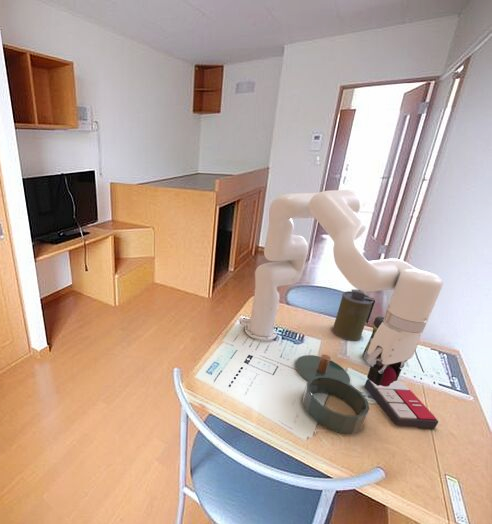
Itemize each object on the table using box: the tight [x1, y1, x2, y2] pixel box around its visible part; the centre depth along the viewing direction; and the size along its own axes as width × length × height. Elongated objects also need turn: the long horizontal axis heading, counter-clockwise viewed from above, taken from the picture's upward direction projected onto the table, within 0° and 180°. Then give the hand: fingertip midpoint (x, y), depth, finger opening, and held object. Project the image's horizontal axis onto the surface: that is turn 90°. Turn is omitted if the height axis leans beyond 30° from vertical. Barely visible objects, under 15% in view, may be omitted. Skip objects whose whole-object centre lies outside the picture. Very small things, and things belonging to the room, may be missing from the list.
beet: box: [378, 364, 396, 386], centre depth 79 cm, size 5×5×6 cm
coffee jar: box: [362, 316, 385, 364], centre depth 108 cm, size 10×8×19 cm
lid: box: [294, 354, 351, 384], centre depth 105 cm, size 17×17×7 cm
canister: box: [331, 289, 376, 342], centre depth 125 cm, size 11×10×20 cm
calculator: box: [363, 378, 439, 430], centre depth 92 cm, size 11×4×15 cm
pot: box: [302, 376, 370, 435], centre depth 90 cm, size 16×16×6 cm
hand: (381, 378), depth 80 cm, fingers closed on beet, 5 cm apart
